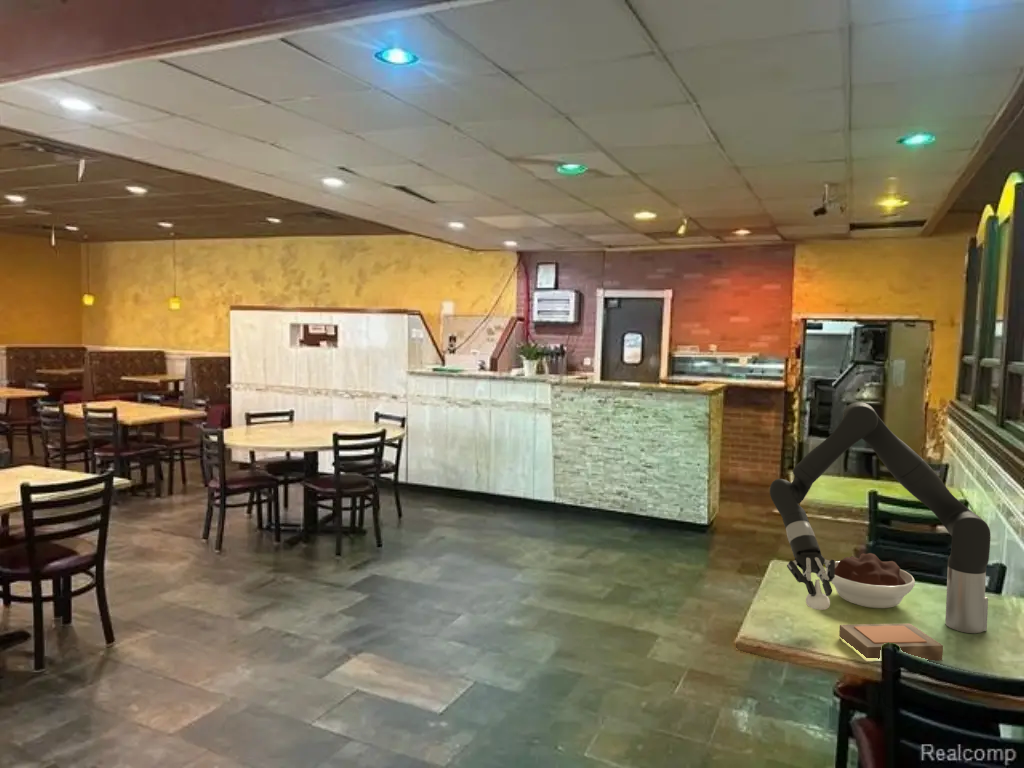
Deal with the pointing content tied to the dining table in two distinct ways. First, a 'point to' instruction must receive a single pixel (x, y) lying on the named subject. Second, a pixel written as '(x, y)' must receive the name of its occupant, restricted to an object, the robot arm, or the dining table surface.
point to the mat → (889, 634)
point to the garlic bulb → (818, 598)
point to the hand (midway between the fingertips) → (821, 594)
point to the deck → (872, 650)
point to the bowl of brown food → (871, 581)
